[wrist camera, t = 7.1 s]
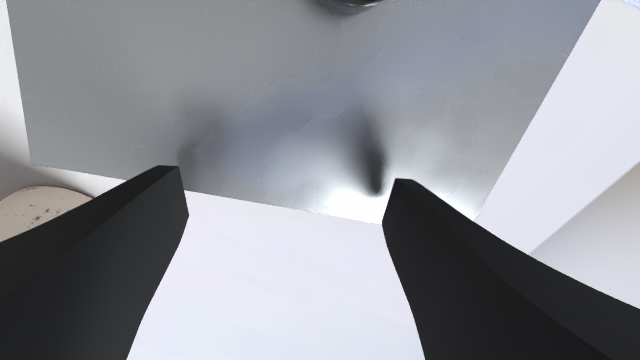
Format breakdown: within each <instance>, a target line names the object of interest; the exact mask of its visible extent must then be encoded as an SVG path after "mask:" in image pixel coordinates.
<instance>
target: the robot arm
mask: <svg viewBox="0 0 640 360" xmlns="http://www.w3.org/2000/svg"><path fill="white" fill-rule="evenodd" d="M624 1H626V2H628V3H630V4H632V5H634V6H636V7H638V8H640V0H624ZM188 217H189V213H188V208H187V203H186V198H185V193H184V188H183V183H182V179H181V174H180V169H179V166H167V165H157V166H155V167H153V168H151V169H149V170H146V171H145V172H143V173H141V174H139V175H137V176H135V177H133V178H131V179H129V180H127V181H126V182H124V183H122V184H120V185H118V186H116V187H114V188H112V189H111V190H109V191H107V192H105V193H103V194H101V195H99V196H97V197H96V198H94V199H92V200H90V201H88V202H86V203H84V204H82V205H80V206H78V207H76V208H74V209H72V210H69V211H67V212H65V213H63V214H61V215H59V216H57V217H55V218H53V219H51V220H49V221H47V222H45V223H43V224H41V225H38V226H36V227H34V228H32V229H29V230H27V231H25V232H23V233H20V234H18V235H16V236H13V237H11V238H8V239H6V240H4V241H1V242H0V360H126V359H127V357H128V354H129V352H130V349H131V346H132V344H133V341H134V339H135V336H136V333H137V331H138V328H139V326H140V323H141V321H142V319H143V316H144V314H145V312H146V310H147V308H148V306H149V304H150V302H151V300H152V298H153V296H154V294H155V292H156V290H157V288H158V286H159V284H160V282H161V280H162V278H163V276H164V274H165V272H166V270H167V268H168V266H169V264H170V262H171V260H172V258H173V256H174V254H175V252H176V250H177V248H178V246H179V243H180V241H181V238H182V235H183V233H184V230H185V226H186V223H187V220H188ZM381 222H382V227H383V231H384V236H385V240H386V244H387V247H388V250H389V253H390V256H391V258H392V261H393V264H394V266H395V269H396V271H397V274H398V277H399V279H400V282H401V284H402V287H403V290H404V292H405V295H406V297H407V300H408V302H409V305H410V308H411V311H412V314H413V317H414V320H415V323H416V327H417V331H418V334H419V338H420V341H421V345H422V349H423V352H424V356H425V360H640V309H638V308H636V307H634V306H632V305H629V304H627V303H624V302H622V301H620V300H618V299H615V298H613V297H611V296H609V295H607V294H604V293H602V292H600V291H598V290H596V289H594V288H591V287H589V286H587V285H585V284H583V283H581V282H579V281H577V280H575V279H573V278H571V277H569V276H567V275H565V274H563V273H561V272H559V271H557V270H555V269H553V268H551V267H549V266H547V265H545V264H544V263H542V262H540V261H538V260H536V259H534V258H533V257H531V256H529V255H527V254H525V253H524V252H522V251H520V250H518V249H517V248H515V247H513V246H511V245H510V244H508V243H506V242H505V241H503V240H501V239H500V238H498V237H497V236H495V235H493V234H492V233H490V232H489V231H487V230H486V229H484V228H483V227H481V226H480V225H478V224H477V223H475V222H474V221H472V220H471V219H469V218H468V217H466V216H465V215H463V214H462V213H461V212H459V211H458V210H456V209H455V208H453V207H452V206H451V205H449V204H448V203H446V202H445V201H444V200H442V199H441V198H440V197H438V196H437V195H435V194H434V193H433V192H431V191H430V190H428V189H427V188H425V187H424V186H423V185H421V184H420V183H418V182H416V181H415V180H413V179H404V178H395V181H394V184H393V187H392V190H391V193H390V196H389V199H388V203H387V206H386V209H385V212H384V215H383V218H382V221H381Z"/></svg>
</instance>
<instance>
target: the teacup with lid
mask: <svg viewBox="0 0 640 360" xmlns="http://www.w3.org/2000/svg"><path fill="white" fill-rule="evenodd" d="M90 200H92V198H90V197H88V196H86V195H84V194H81V193H79V192H75V191H72V190H69V189H64V188H59V187H50V186H35V187H28V188H24V189H20V190H18V191H16V192H14V193H12V194H10V195H9V196H7V197H6V198H4V199H3V200H1V201H0V242H1V241H4V240H6V239H8V238H11V237H13V236H16V235H18V234H20V233H23V232H25V231H27V230H29V229H32V228H34V227H36V226H38V225H41V224H43V223H45V222H47V221H49V220H51V219H53V218H55V217H57V216H59V215H61V214H63V213H65V212H67V211H69V210H72V209H74V208H76V207H78V206H80V205H82V204H84V203H86V202H88V201H90Z"/></svg>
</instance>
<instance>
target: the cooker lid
mask: <svg viewBox="0 0 640 360" xmlns="http://www.w3.org/2000/svg"><path fill="white" fill-rule="evenodd" d="M600 1H601V0H6V2H7V8H8V15H9V21H10V28H11V34H12V41H13V47H14V54H15V60H16V66H17V73H18V79H19V86H20V92H21V99H22V105H23V111H24V118H25V124H26V131H27V137H28V144H29V150H30V156H31V163H32V164H36V165H42V166H47V167H53V168H59V169H65V170H71V171H76V172H82V173H88V174H94V175H100V176H106V177H111V178H117V179H123V180H129V179H131V178H133V177H135V176H137V175H139V174H141V173H143V172H145V171H146V170H149V169H151V168H153V167H155V166H157V165H167V166H179V169H180V174H181V179H182V183H183V188H184V190H187V191H193V192H199V193H204V194H210V195H216V196H222V197H228V198H234V199H239V200H245V201H251V202H257V203H263V204H268V205H274V206H280V207H286V208H292V209H298V210H303V211H309V212H315V213H321V214H327V215H332V216H338V217H344V218H350V219H356V220H361V221H367V222H373V223H379V224H382V222H381V221H382V218H383V215H384V212H385V209H386V206H387V203H388V199H389V196H390V193H391V190H392V187H393V184H394V181H395V178H404V179H413V180H415V181H416V182H418V183H420V184H421V185H423V186H424V187H425V188H427V189H428V190H430V191H431V192H433V193H434V194H435V195H437V196H438V197H440V198H441V199H442V200H444V201H445V202H446V203H448V204H449V205H451V206H452V207H453V208H455V209H456V210H458V211H459V212H461V213H462V214H463V215H465V216H466V217H468V218H469V219H471V220H472V221H474V220H475V218H476V216H477V215H478V213H479V211H480V209H481V208H482V206H483V204H484V202H485V201H486V199H487V197H488V195H489V194H490V192H491V190H492V188H493V187H494V185H495V183H496V182H497V180H498V178H499V176H500V175H501V173H502V171H503V169H504V168H505V166H506V164H507V162H508V161H509V159H510V157H511V155H512V154H513V152H514V150H515V149H516V147H517V145H518V143H519V142H520V140H521V138H522V136H523V135H524V133H525V131H526V129H527V128H528V126H529V124H530V122H531V121H532V119H533V117H534V116H535V114H536V112H537V110H538V109H539V107H540V105H541V103H542V102H543V100H544V98H545V96H546V95H547V93H548V91H549V89H550V88H551V86H552V84H553V83H554V81H555V79H556V77H557V76H558V74H559V72H560V70H561V69H562V67H563V65H564V63H565V62H566V60H567V58H568V56H569V55H570V53H571V51H572V50H573V48H574V46H575V44H576V43H577V41H578V39H579V37H580V36H581V34H582V32H583V30H584V29H585V27H586V25H587V23H588V22H589V20H590V18H591V17H592V15H593V13H594V11H595V10H596V8H597V6H598V4H599V3H600Z"/></svg>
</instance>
